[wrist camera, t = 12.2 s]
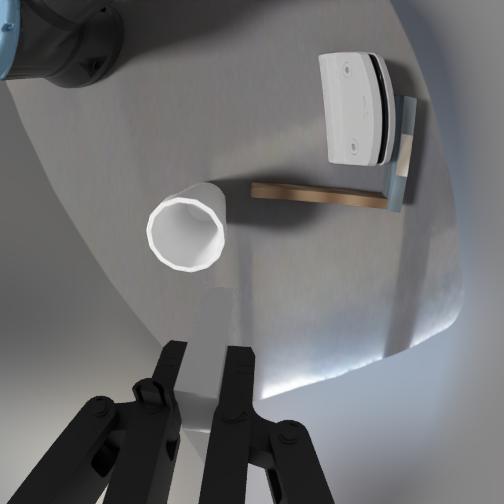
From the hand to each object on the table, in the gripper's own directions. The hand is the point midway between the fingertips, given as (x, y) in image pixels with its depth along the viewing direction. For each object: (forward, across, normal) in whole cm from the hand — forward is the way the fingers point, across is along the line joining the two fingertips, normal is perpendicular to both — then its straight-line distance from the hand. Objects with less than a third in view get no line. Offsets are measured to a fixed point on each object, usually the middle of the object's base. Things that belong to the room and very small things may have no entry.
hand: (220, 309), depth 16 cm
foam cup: (+33, -7, -5) cm, 34 cm away
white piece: (+33, +14, +11) cm, 37 cm away
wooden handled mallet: (+32, +11, +5) cm, 35 cm away
